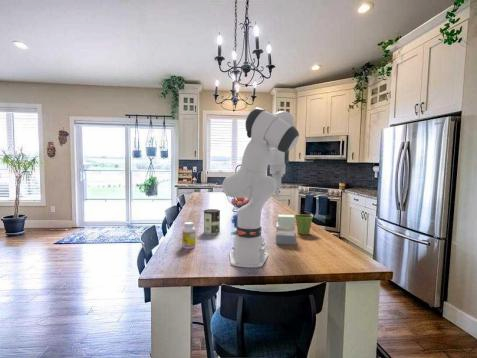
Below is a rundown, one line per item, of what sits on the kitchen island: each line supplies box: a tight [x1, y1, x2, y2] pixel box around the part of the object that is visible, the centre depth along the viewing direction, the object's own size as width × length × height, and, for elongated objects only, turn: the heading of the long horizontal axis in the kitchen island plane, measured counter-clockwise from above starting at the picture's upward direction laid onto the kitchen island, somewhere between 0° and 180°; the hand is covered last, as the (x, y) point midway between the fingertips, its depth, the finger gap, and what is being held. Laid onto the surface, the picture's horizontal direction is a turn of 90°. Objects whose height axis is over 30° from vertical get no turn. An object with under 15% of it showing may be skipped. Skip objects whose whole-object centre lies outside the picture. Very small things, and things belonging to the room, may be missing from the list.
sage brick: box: [277, 214, 296, 227], centre depth 153 cm, size 6×9×5 cm, turn 85°
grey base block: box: [275, 233, 297, 246], centre depth 153 cm, size 11×11×5 cm
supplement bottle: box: [181, 221, 196, 250], centre depth 140 cm, size 7×7×13 cm
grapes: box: [231, 212, 238, 228], centre depth 174 cm, size 12×7×12 cm, turn 98°
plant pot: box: [293, 213, 314, 235], centre depth 170 cm, size 12×12×11 cm
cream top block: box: [275, 221, 296, 236], centre depth 153 cm, size 10×10×5 cm
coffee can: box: [203, 208, 221, 236], centre depth 169 cm, size 10×10×14 cm
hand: (277, 195), depth 153 cm, fingers open, 8 cm apart
